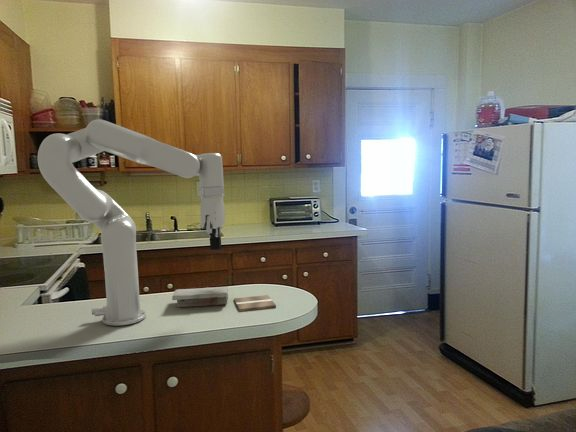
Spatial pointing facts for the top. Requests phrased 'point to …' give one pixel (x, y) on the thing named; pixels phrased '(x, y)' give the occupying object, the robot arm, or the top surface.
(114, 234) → the robot arm
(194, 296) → the packaged product
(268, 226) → the top surface
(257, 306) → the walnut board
